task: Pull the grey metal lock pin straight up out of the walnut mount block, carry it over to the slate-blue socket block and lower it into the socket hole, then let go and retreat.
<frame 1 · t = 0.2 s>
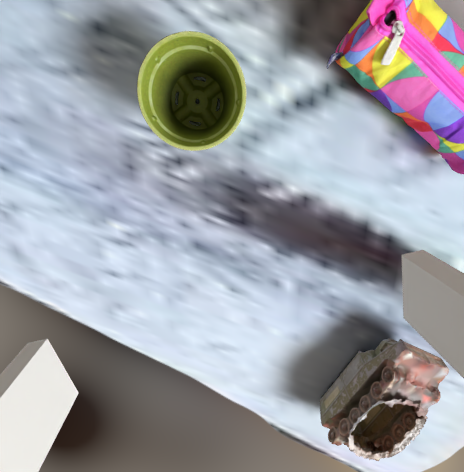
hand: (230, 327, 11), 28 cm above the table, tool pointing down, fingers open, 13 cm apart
olive toy tank: (355, 363, 49), on the table
plant pot: (197, 102, 34), on the table
pencil case: (403, 89, 35), on the table
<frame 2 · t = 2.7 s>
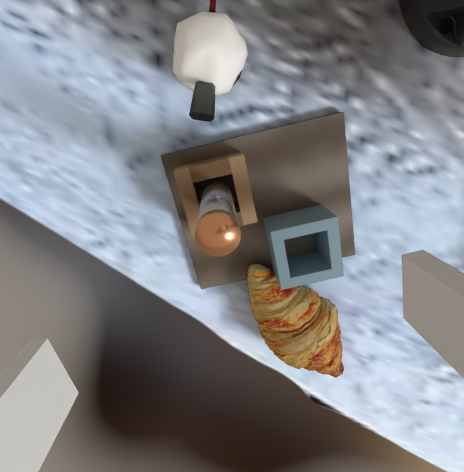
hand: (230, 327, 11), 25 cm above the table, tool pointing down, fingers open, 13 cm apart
cocoa: (208, 69, 30), on the table
mount: (216, 188, 34), resting on board
board: (264, 207, 35), on the table
socket: (294, 235, 37), resting on board
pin: (216, 189, 33), point 1 cm above the table, touching board
croissant: (295, 311, 41), on the table, touching board, socket
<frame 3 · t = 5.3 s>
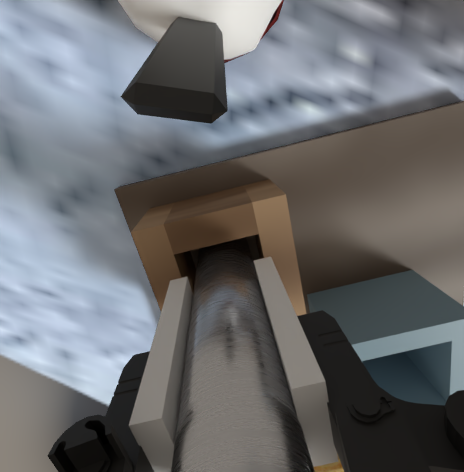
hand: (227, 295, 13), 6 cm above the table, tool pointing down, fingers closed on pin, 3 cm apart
cocoa: (204, 15, 15), on the table
mount: (223, 244, 19), resting on board
board: (308, 273, 20), on the table
socket: (358, 318, 21), resting on board
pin: (224, 249, 18), point 1 cm above the table, touching board, gripper
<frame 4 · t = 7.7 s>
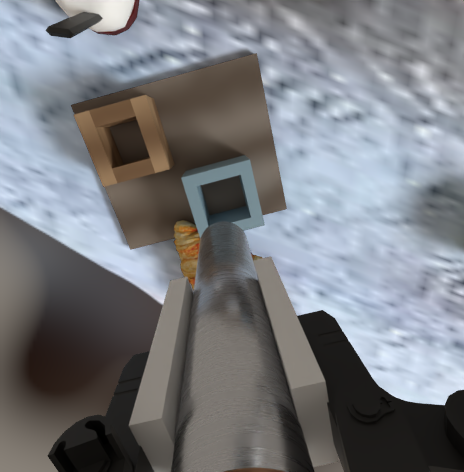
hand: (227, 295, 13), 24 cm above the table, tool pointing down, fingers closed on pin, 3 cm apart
cocoa: (112, 11, 29), on the table
mount: (135, 140, 33), resting on board
board: (187, 160, 34), on the table
socket: (222, 190, 35), resting on board
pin: (223, 243, 19), point 18 cm above the table, touching gripper
croissant: (232, 273, 40), on the table, touching board, socket
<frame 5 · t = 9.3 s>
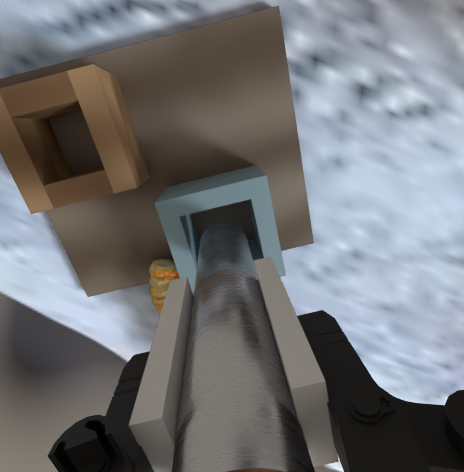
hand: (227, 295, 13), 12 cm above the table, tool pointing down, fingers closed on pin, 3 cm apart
mount: (91, 141, 22), resting on board
board: (170, 171, 23), on the table
socket: (221, 215, 24), resting on board
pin: (223, 244, 19), point 6 cm above the table, touching gripper
croissant: (233, 327, 28), on the table, touching board, socket
when the fingers open (8 cm above the table, at t = 10.4 s): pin stays where it is, resting on board.
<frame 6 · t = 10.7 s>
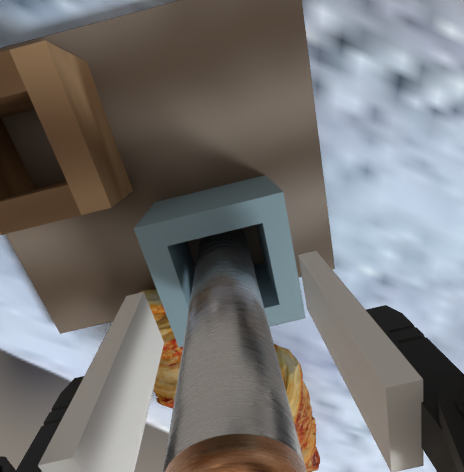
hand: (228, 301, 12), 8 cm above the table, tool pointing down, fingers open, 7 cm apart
mount: (59, 145, 17), resting on board
board: (159, 182, 18), on the table
socket: (222, 236, 20), resting on board
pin: (223, 240, 19), point 1 cm above the table, touching board
croissant: (236, 365, 24), on the table, touching board, socket
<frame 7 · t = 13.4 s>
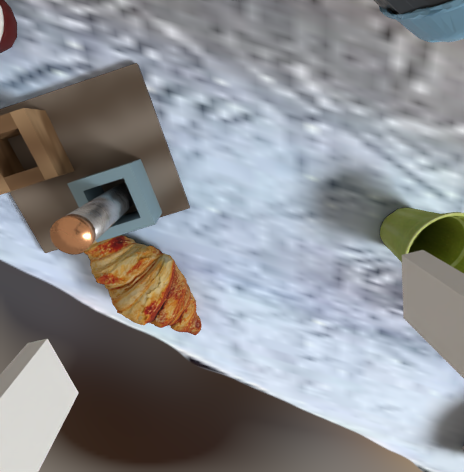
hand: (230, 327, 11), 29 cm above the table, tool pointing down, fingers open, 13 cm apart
mount: (36, 150, 35), resting on board
board: (89, 166, 36), on the table
plant pot: (399, 228, 42), on the table
socket: (127, 193, 37), resting on board
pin: (125, 195, 37), point 1 cm above the table, touching board
croissant: (149, 272, 41), on the table, touching board, socket
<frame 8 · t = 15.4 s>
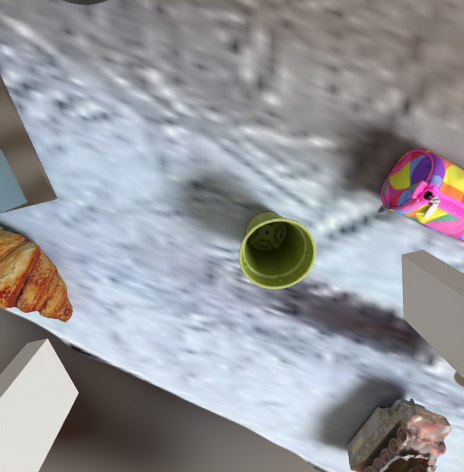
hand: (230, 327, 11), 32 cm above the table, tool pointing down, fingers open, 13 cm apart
olive toy tank: (375, 415, 59), on the table
plant pot: (265, 231, 44), on the table
pencil case: (437, 201, 44), on the table
croissant: (23, 259, 43), on the table, touching board, socket
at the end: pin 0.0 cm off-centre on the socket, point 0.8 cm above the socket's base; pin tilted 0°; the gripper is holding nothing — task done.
